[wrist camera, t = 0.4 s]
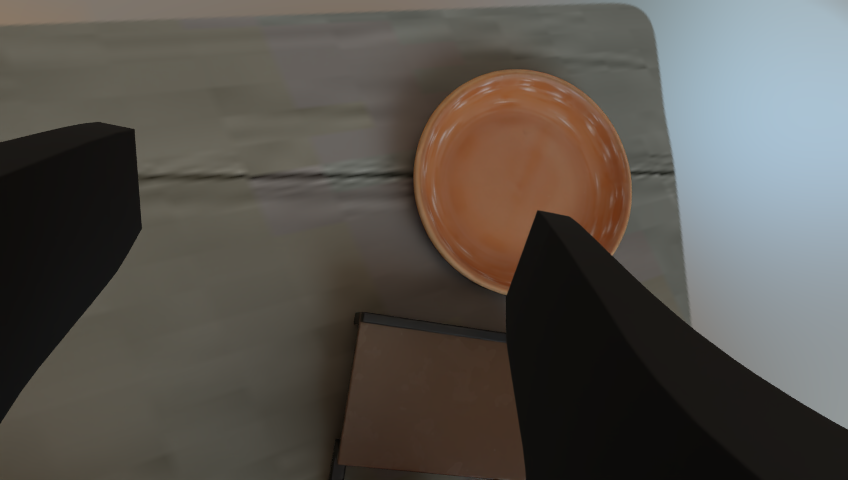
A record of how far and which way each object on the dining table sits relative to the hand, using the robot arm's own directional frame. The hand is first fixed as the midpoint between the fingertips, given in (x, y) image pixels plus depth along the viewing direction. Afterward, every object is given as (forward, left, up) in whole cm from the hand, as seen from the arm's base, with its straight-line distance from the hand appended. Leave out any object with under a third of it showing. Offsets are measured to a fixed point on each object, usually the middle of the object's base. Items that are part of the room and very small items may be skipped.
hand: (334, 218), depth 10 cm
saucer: (+9, -14, -29) cm, 33 cm away
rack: (-10, -10, -29) cm, 32 cm away
